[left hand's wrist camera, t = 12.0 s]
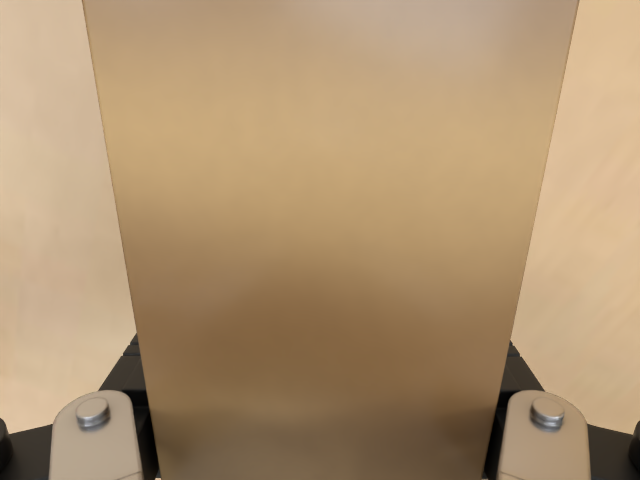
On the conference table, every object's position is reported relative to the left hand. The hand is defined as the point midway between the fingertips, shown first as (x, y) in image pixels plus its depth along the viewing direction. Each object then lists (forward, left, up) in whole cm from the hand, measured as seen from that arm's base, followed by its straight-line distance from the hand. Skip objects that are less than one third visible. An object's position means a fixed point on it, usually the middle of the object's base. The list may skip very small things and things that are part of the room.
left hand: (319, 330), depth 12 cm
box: (0, -7, -5) cm, 9 cm away
